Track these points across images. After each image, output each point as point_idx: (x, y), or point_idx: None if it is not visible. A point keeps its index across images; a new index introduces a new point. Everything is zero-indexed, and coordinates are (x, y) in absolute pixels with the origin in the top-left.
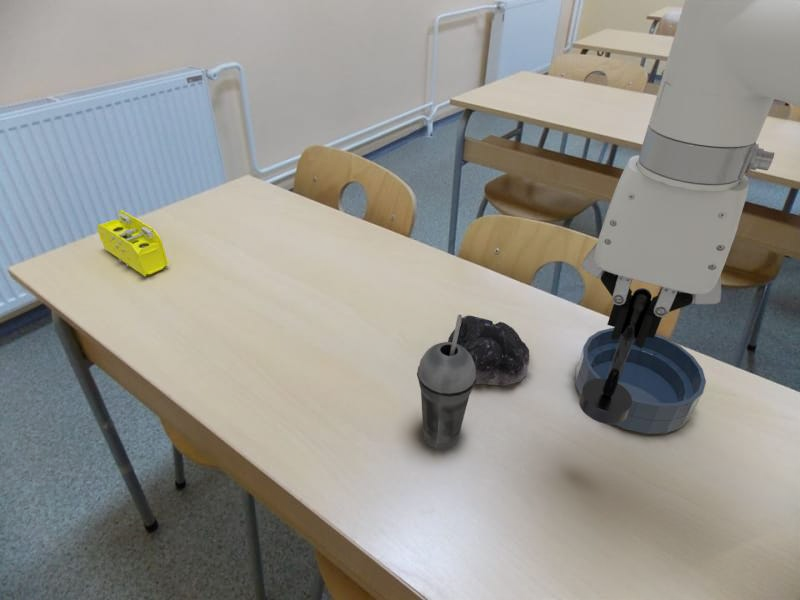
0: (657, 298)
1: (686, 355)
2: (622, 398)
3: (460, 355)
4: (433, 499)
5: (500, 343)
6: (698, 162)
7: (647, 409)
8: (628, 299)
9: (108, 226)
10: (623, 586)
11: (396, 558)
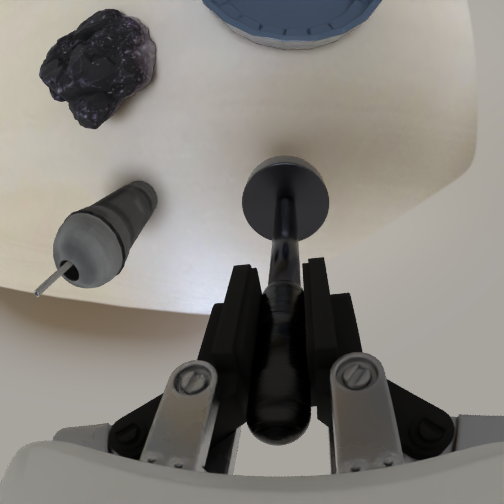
0: (331, 411)
1: None
2: (311, 198)
3: (82, 269)
4: (184, 258)
5: (93, 90)
6: None
7: (330, 38)
8: (244, 419)
9: None
10: (358, 236)
11: (199, 308)
